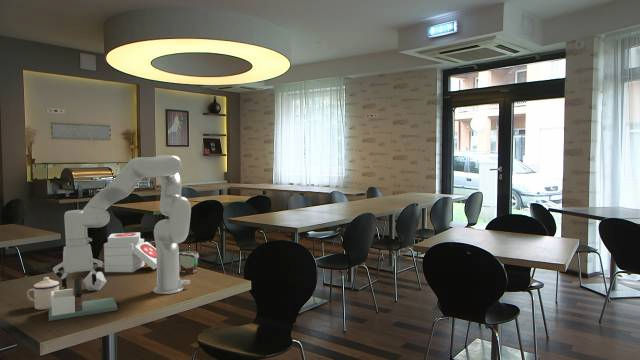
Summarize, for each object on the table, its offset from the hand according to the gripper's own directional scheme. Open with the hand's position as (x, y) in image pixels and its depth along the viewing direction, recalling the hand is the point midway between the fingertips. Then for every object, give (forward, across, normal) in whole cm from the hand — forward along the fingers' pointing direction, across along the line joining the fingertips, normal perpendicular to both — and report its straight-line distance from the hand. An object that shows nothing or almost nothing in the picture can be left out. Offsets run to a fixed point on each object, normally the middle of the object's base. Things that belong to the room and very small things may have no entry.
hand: (79, 286), depth 180 cm
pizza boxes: (+11, -29, -62) cm, 70 cm away
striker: (+8, +1, 0) cm, 8 cm away
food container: (+12, -53, -40) cm, 67 cm away
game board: (+10, -1, 0) cm, 10 cm away
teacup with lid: (+10, +13, -13) cm, 21 cm away
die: (+10, -7, -29) cm, 32 cm away
